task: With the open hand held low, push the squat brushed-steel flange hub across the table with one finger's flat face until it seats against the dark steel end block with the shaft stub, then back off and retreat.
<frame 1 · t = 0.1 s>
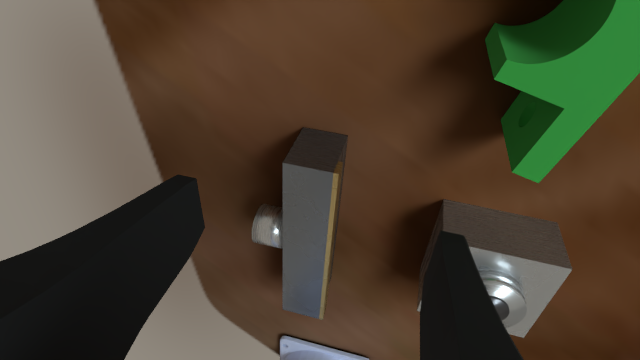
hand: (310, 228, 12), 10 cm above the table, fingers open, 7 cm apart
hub: (481, 245, 24), on the table
end block: (319, 212, 25), on the table
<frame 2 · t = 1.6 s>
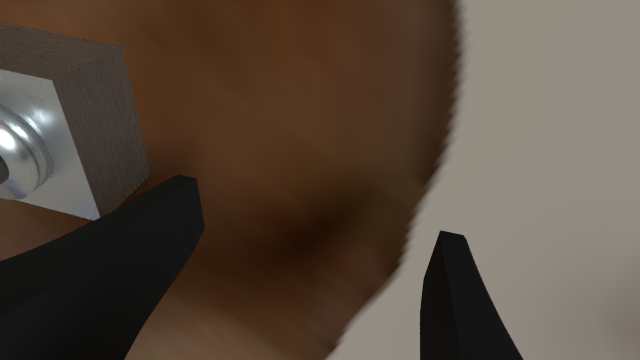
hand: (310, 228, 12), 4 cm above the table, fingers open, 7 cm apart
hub: (77, 101, 17), on the table
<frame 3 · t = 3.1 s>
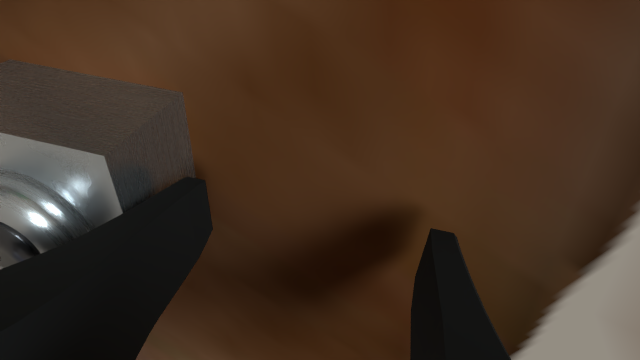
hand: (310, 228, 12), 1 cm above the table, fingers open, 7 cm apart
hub: (117, 155, 14), on the table, touching gripper
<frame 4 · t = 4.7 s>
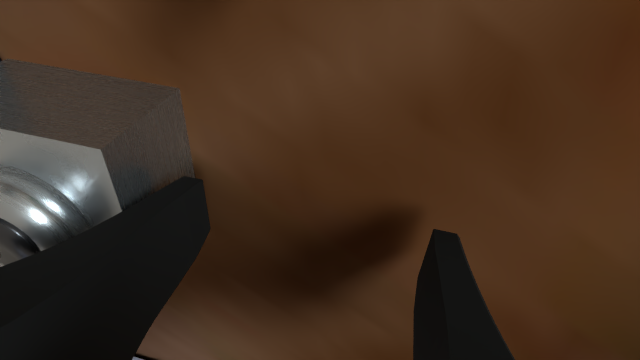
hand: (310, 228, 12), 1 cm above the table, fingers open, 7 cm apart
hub: (117, 152, 14), on the table, touching end block, gripper
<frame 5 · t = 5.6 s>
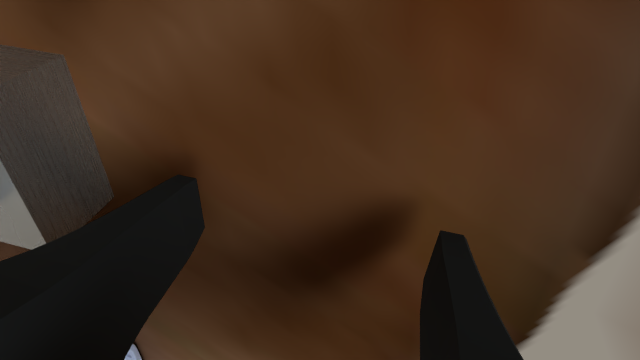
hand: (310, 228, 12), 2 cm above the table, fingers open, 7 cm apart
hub: (27, 118, 15), on the table
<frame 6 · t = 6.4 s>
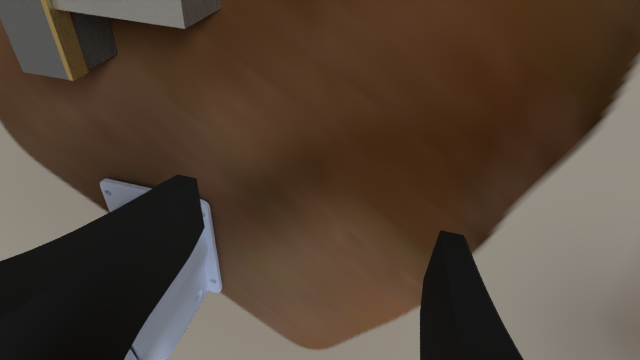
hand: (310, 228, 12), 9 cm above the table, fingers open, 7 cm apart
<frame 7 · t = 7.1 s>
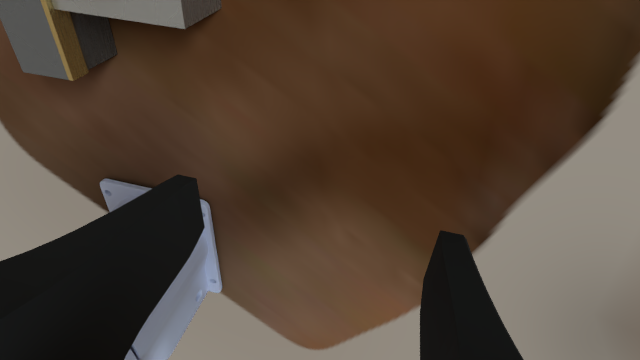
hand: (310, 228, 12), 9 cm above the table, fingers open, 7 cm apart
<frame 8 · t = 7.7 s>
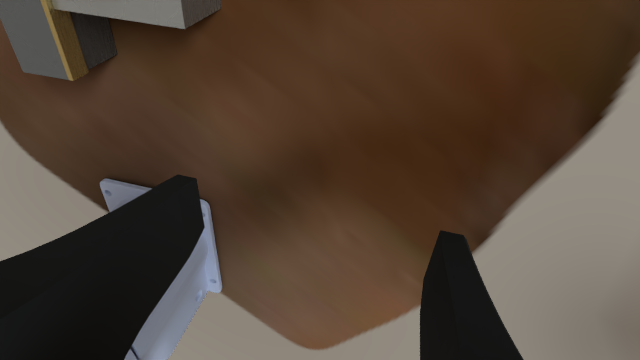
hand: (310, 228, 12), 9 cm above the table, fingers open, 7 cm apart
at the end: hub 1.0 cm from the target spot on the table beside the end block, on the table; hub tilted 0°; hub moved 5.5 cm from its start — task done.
